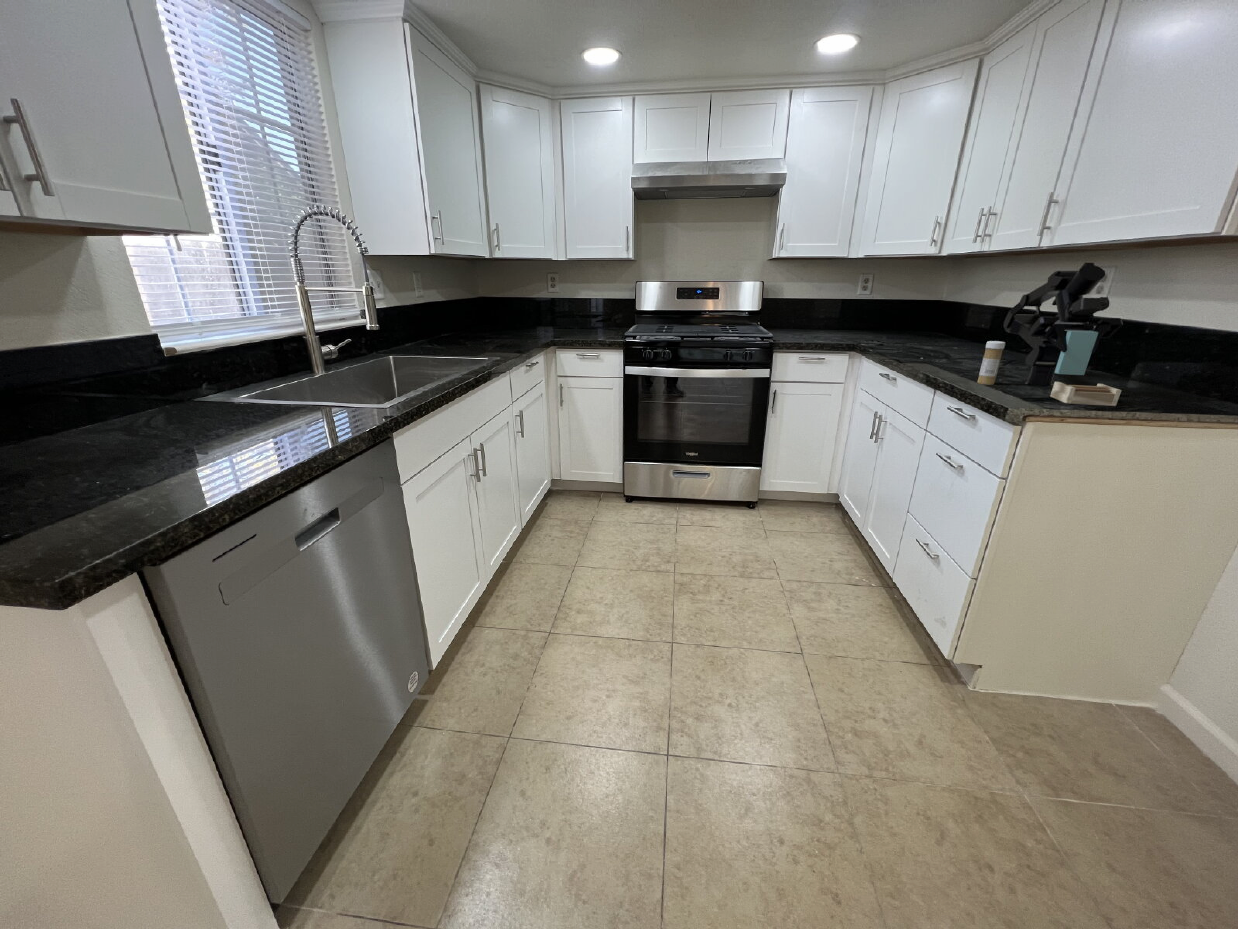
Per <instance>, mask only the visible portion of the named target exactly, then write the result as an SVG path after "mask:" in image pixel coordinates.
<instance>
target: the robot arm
mask: <svg viewBox="0 0 1238 929" xmlns="http://www.w3.org/2000/svg"><path fill="white" fill-rule="evenodd" d="M1105 276H1106V270H1104V269H1103V268H1102V267H1100V266H1098V265H1095V262H1084V263H1083V264H1082V266H1081V267H1080V268H1079V270H1055V271H1053V273H1051V275H1049V276H1048V277H1047V282H1045V283H1044V284H1042V285H1040V286H1039V287H1037V288H1035V289H1034V290H1032V291H1031V292H1029V293H1025V294H1023V295H1022V296H1021V298H1020V301H1018V303H1017V304H1016V305H1014V306H1013V307H1012V308H1010V310H1008V313H1007V314H1006V316H1005V319H1004V321H1003V329H1004V330H1005V332H1007V333H1010V334H1015V335H1019V336H1020V337H1021V338H1022V339H1023V340H1024V341H1025V342H1026V343H1027V344H1028V345H1029V346H1030V347H1031V348H1032V350H1031V351H1030V352H1029V353H1028V354H1027V356H1026V357H1025V365H1027V366H1031V369H1030V373H1029V376H1028V380H1027V381H1026V382H1025V383H1024V385H1033V386H1039V387H1041V386H1043V387H1045V386H1054V383H1053V380H1054V377H1055V374H1056V373H1054V372H1055V369H1056V366H1057V363H1058V360H1059V357H1060V353H1061V351H1062V352H1066V351H1067V343H1066V334H1065V332H1067V331H1093V332H1098V335H1097V338H1096V341H1095V344H1094V347H1093V350H1092V353H1091V354H1094V353H1095V352H1096V351H1097V347H1098V344H1099V342H1100V339H1108V338H1111V337H1112V336H1113V335H1114V334H1115V333H1117V331H1119V329H1120V328H1122V326H1123V325H1124V323H1123V320H1122V318H1121V317H1102V318H1101V319H1100V320H1099V321H1098V322H1097V323H1096V322H1094V323H1093V322H1090V323H1089V320H1092V319H1093V318H1094V315H1095V314H1096V313H1098V312H1100V311H1102V312H1103V311H1105V310H1107V309H1108V308H1109V307H1110V299H1109V297H1108V296H1100V297H1084V296H1085V295H1089V294H1091V292H1092V291H1093V290H1094V289H1095V288H1096V286H1097V285H1098V284H1099V283H1100V282H1101V281H1102V280H1103V278H1105ZM1054 297H1055V298H1054ZM1053 298H1054V300H1053V301H1052V303H1051V305H1052V306H1056V311H1057V314H1056V315H1055V316H1042V311H1041V306H1042V304H1044V303H1045V302H1048V301H1050V300H1051V299H1053ZM1025 307H1035V313H1034V314H1028V313H1027V314H1025V313H1024V314H1018V313H1019V312H1021V311H1022V310H1023V309H1024V308H1025Z"/></svg>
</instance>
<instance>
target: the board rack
mask: <svg viewBox="0 0 1238 929" xmlns="http://www.w3.org/2000/svg"><path fill="white" fill-rule="evenodd" d="M1053 384H1054V385H1052V390H1051V393H1050V397H1051V398H1053V399H1055V400H1058V401H1060V402H1062V403H1065V404H1070V405H1071V404H1074V405H1089V406H1090V405H1091V406H1092V405H1093V406H1094V405H1095V406H1112V407H1116V406H1117V404H1118V401H1119V398H1120V395H1121V393H1122V390H1121V389H1119V388H1116V387H1112V386H1109V385H1107V384H1104V383H1097V385H1096V386H1104V387H1107V389H1108V390H1110V393H1100V392H1079V391H1075V389H1076V388H1074V387H1071V386H1069V385H1070V384H1066V383H1064V382H1060V381H1054V383H1053Z"/></svg>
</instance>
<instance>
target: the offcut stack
mask: <svg viewBox="0 0 1238 929" xmlns="http://www.w3.org/2000/svg"><path fill="white" fill-rule="evenodd" d="M1068 385H1069V386H1071V387H1074V388H1076V389H1075V391H1079V392H1100V393H1110V390H1108V389H1107V387H1104V386H1097V385H1081V384H1080V385H1079V384H1078V385H1077V384H1068Z"/></svg>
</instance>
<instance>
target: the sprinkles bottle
mask: <svg viewBox="0 0 1238 929" xmlns="http://www.w3.org/2000/svg"><path fill="white" fill-rule="evenodd" d="M1005 346H1006V342H1005V341H999V340H994V341H993V340H989V341H987V342H986V344H985V351H984V354H983V357H982V361H981V366H980V370H979V374H978V379H977V381H976V383H977V384H980V385H989V386H991V385H993V386H994V385H995V381H996V378H997V375H998V371H999V368H1000V364H1001V359H1002V356H1003V351H1004V349H1005Z"/></svg>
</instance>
